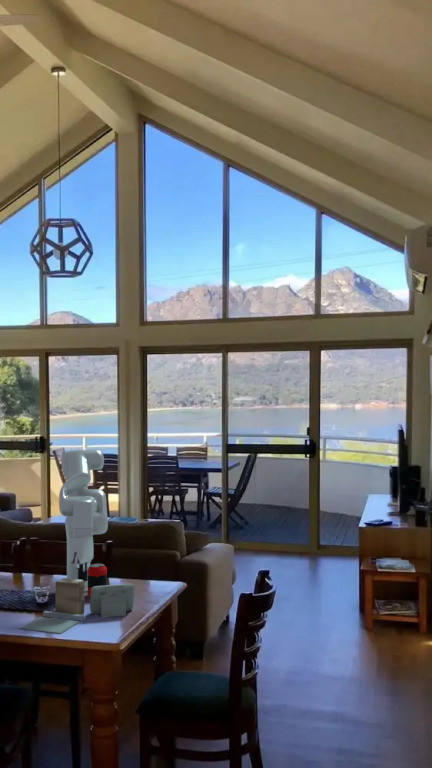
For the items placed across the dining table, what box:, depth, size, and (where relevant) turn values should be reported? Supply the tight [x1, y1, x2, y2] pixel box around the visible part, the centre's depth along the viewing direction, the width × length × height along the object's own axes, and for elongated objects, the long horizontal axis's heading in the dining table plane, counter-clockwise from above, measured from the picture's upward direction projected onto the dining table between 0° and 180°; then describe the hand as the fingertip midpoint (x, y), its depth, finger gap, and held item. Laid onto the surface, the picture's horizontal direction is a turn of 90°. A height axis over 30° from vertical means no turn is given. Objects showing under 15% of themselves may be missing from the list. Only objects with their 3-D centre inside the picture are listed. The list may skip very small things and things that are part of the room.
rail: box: [42, 610, 85, 622], centre depth 233 cm, size 2×16×2 cm, turn 71°
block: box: [54, 577, 85, 615], centre depth 237 cm, size 5×9×12 cm, turn 71°
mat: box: [19, 616, 80, 635], centre depth 225 cm, size 12×16×1 cm
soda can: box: [87, 563, 108, 598], centre depth 261 cm, size 8×8×12 cm
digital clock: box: [89, 583, 135, 618], centre depth 239 cm, size 16×9×11 cm, turn 95°
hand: (82, 580), depth 246 cm, fingers closed
